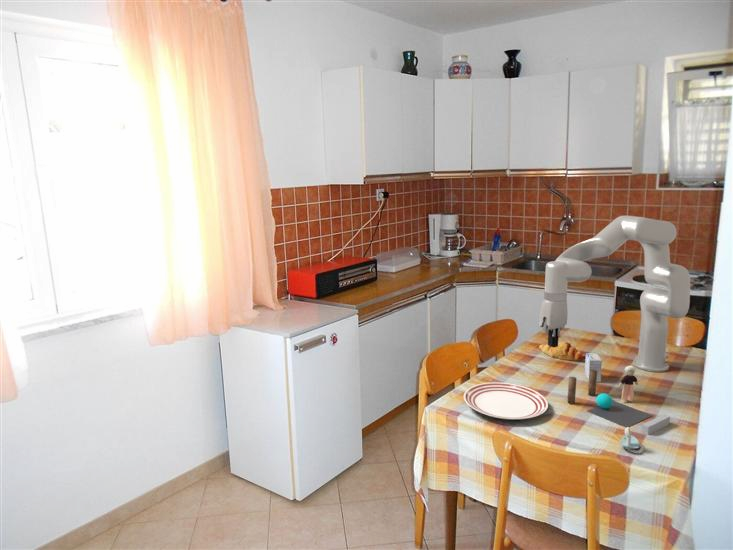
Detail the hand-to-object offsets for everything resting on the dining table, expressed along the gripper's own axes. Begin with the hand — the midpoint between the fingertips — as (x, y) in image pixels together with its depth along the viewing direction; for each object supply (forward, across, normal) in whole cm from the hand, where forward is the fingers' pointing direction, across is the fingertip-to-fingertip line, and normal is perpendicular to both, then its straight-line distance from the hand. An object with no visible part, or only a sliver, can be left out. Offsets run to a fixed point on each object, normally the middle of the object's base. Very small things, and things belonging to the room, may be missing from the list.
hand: (552, 346), depth 196 cm
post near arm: (+15, -6, +13) cm, 21 cm away
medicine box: (+16, -19, +4) cm, 25 cm away
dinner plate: (+16, +26, +2) cm, 31 cm away
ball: (+13, 0, +22) cm, 25 cm away
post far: (+15, +6, +13) cm, 21 cm away
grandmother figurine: (+16, -11, +23) cm, 30 cm away
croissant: (+16, -30, -18) cm, 38 cm away
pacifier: (+16, +17, +42) cm, 48 cm away
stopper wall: (+15, 0, +39) cm, 42 cm away
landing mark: (+15, 0, +27) cm, 31 cm away
